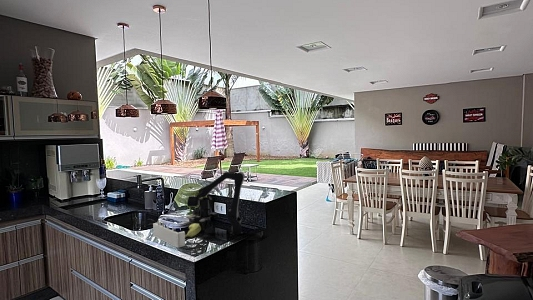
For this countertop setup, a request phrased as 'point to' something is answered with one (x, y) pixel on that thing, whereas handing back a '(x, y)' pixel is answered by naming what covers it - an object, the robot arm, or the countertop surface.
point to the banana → (193, 230)
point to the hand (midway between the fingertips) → (204, 230)
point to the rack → (168, 235)
